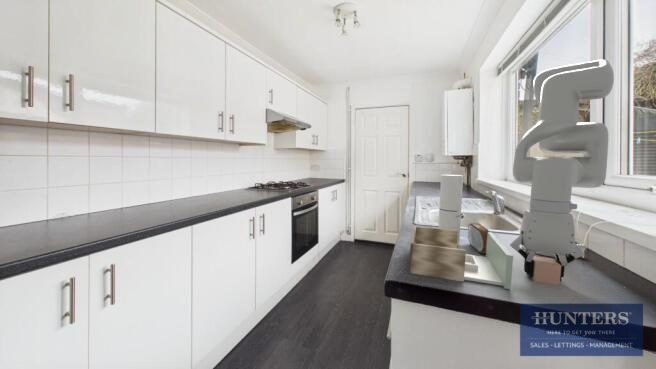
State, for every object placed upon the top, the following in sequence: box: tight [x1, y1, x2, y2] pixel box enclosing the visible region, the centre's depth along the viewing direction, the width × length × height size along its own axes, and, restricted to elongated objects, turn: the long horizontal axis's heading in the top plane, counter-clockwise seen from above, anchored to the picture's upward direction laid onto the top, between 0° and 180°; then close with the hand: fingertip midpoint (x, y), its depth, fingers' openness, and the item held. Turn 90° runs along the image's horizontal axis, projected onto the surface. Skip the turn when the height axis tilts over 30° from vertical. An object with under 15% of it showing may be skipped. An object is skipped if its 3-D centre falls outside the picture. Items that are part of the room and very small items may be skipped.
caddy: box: [409, 226, 467, 282], centre depth 74 cm, size 13×20×8 cm, turn 158°
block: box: [530, 255, 561, 286], centre depth 65 cm, size 5×5×5 cm
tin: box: [467, 222, 490, 255], centre depth 86 cm, size 15×3×8 cm, turn 168°
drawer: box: [464, 231, 514, 290], centre depth 70 cm, size 13×21×8 cm, turn 158°
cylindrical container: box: [437, 174, 464, 247], centre depth 92 cm, size 7×7×25 cm
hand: (542, 276), depth 65 cm, fingers closed on block, 4 cm apart
